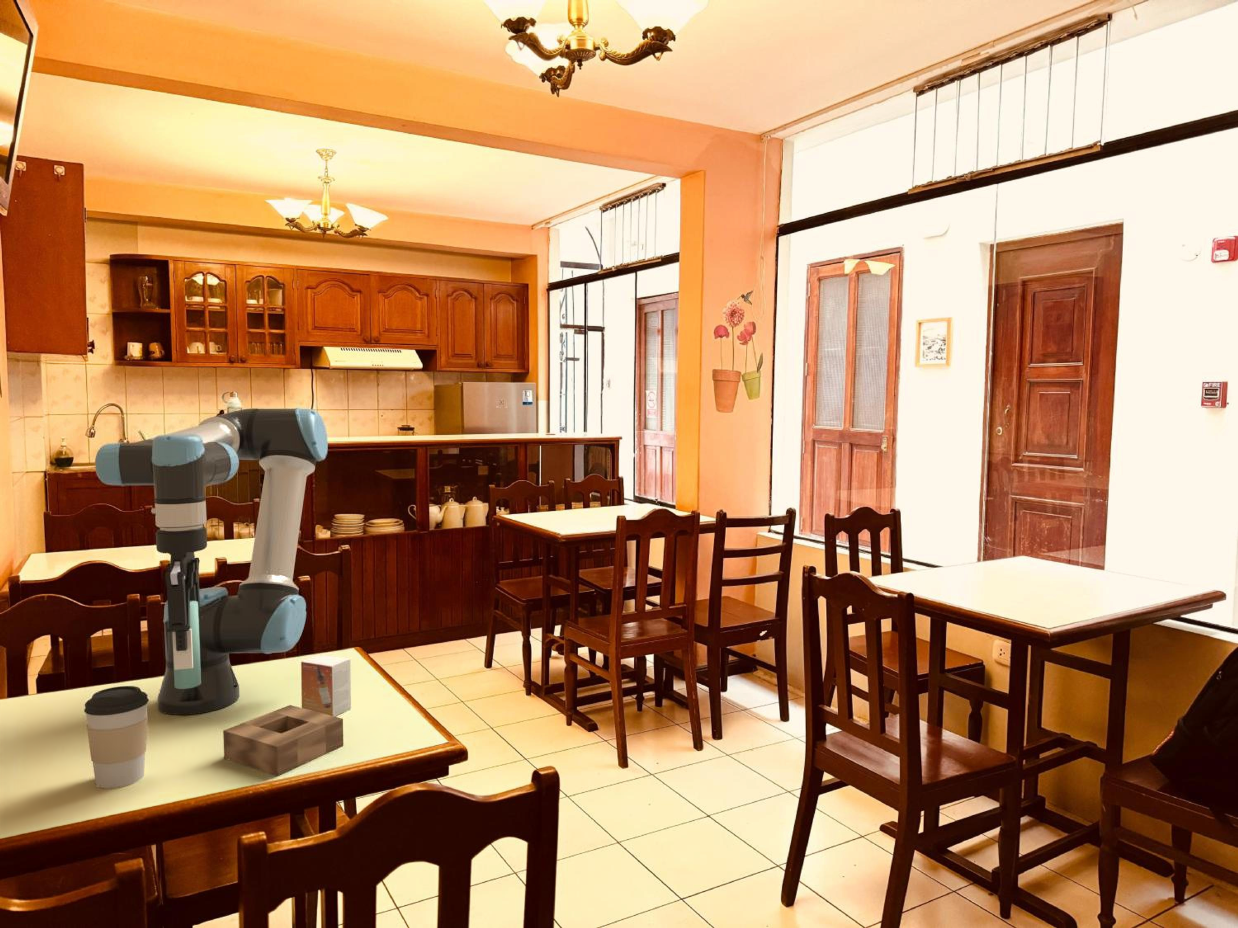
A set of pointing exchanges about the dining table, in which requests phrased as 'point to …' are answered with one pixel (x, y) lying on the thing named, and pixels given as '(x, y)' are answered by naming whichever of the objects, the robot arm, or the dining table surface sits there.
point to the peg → (193, 675)
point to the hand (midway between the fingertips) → (187, 663)
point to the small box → (326, 684)
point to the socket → (283, 739)
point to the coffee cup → (117, 735)
